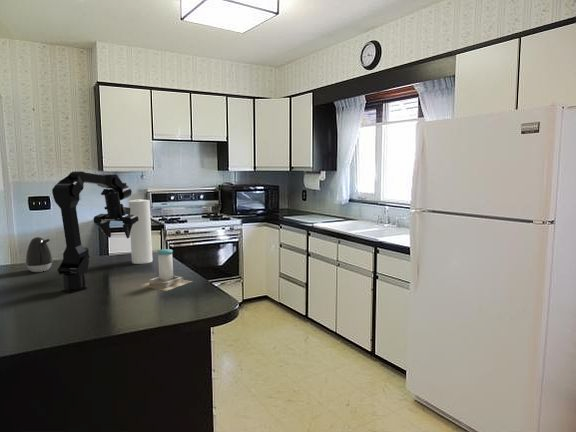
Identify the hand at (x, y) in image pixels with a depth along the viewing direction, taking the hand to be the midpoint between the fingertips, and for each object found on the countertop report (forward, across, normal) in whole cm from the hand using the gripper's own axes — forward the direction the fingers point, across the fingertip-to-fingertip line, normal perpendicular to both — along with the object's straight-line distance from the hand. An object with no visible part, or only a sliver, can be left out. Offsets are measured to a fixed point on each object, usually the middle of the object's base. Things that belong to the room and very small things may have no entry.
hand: (118, 237), depth 180 cm
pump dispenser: (+14, +35, +11) cm, 39 cm away
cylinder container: (+18, +1, -15) cm, 23 cm away
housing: (+12, -32, +18) cm, 38 cm away
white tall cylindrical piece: (+11, -32, +17) cm, 38 cm away
